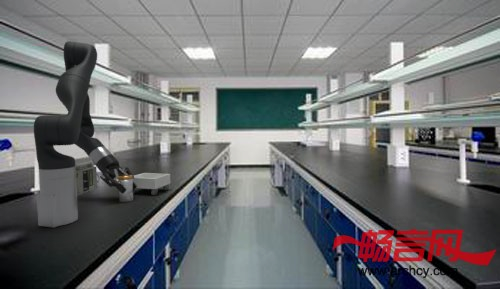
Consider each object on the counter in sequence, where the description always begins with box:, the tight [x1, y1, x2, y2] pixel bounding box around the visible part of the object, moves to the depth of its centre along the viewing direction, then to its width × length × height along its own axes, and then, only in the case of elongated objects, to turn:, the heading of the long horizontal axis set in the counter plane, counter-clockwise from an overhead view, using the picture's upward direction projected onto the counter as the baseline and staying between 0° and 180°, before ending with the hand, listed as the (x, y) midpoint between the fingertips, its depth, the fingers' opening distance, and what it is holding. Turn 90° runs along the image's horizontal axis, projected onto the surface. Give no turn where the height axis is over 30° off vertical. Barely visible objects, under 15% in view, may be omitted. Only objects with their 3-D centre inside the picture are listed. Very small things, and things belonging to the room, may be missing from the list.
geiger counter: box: [75, 159, 101, 197], centre depth 121 cm, size 14×6×25 cm
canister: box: [118, 175, 134, 203], centre depth 107 cm, size 5×5×10 cm
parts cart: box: [133, 172, 171, 196], centre depth 120 cm, size 12×14×8 cm
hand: (129, 190), depth 106 cm, fingers open, 5 cm apart
